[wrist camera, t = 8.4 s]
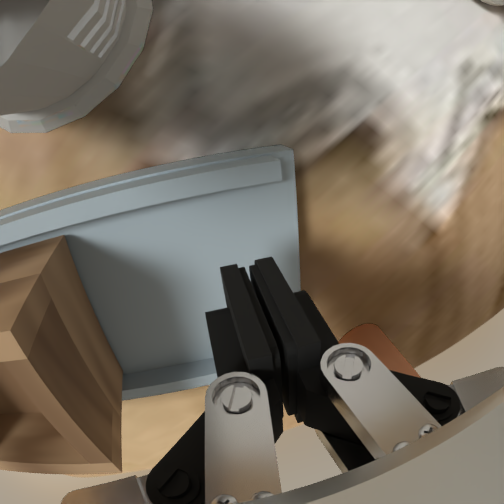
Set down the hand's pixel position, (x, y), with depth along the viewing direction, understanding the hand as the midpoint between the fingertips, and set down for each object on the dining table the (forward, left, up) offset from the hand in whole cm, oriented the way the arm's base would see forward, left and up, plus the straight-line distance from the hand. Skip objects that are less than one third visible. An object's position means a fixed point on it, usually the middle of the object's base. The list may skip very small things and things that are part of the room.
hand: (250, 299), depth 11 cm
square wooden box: (+11, +2, -4) cm, 11 cm away
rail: (+7, +2, -6) cm, 9 cm away
